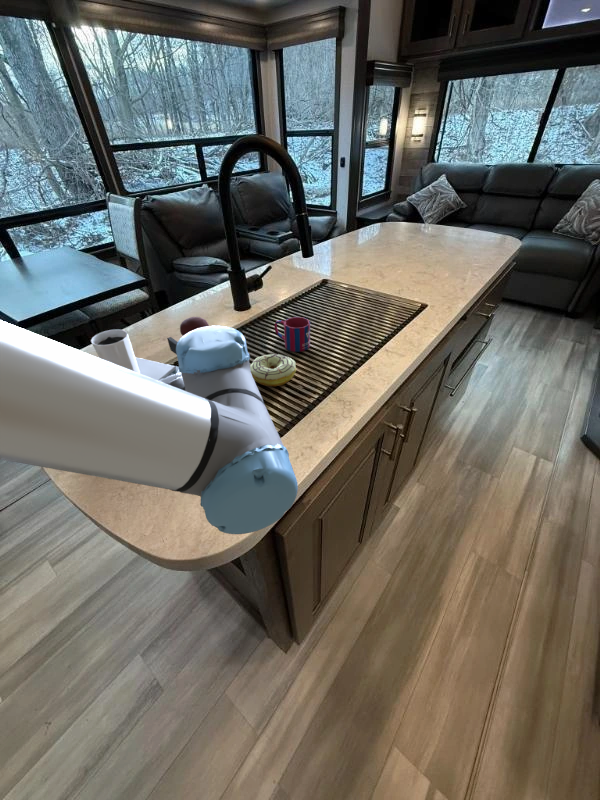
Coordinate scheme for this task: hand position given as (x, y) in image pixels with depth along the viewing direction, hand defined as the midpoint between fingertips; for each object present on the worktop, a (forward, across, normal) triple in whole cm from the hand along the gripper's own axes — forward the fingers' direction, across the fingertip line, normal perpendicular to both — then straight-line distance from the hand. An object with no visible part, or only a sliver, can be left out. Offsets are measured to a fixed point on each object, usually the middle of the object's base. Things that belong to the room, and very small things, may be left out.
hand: (136, 355), depth 62 cm
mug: (-1, +38, -12) cm, 40 cm away
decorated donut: (-9, +25, -12) cm, 29 cm away
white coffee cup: (+8, -2, -9) cm, 12 cm away
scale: (+8, 0, -12) cm, 15 cm away
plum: (+21, +22, -12) cm, 32 cm away
